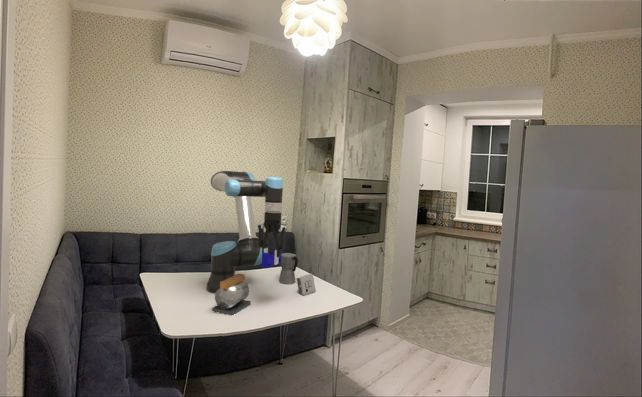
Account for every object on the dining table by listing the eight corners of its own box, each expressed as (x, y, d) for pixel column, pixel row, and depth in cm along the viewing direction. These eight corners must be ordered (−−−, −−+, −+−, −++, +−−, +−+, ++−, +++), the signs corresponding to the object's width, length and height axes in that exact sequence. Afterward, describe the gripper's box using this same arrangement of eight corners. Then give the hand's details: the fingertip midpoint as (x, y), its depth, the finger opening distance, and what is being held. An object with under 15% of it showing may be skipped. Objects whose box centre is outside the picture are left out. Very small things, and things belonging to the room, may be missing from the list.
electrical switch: (303, 296, 164) (303, 277, 164) (295, 294, 167) (295, 276, 167) (315, 292, 171) (315, 273, 171) (308, 290, 174) (307, 272, 174)
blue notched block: (272, 261, 157) (273, 248, 156) (281, 262, 155) (281, 249, 155) (258, 266, 146) (259, 252, 145) (267, 267, 144) (268, 253, 144)
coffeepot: (273, 280, 188) (274, 248, 187) (287, 277, 194) (288, 246, 193) (288, 287, 176) (290, 253, 175) (303, 284, 182) (304, 251, 181)
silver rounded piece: (232, 315, 136) (233, 284, 136) (211, 311, 139) (212, 280, 139) (250, 304, 149) (251, 275, 149) (231, 300, 153) (232, 272, 152)
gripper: (251, 210, 148) (249, 262, 150) (288, 214, 143) (285, 267, 144) (259, 209, 156) (257, 259, 157) (294, 212, 150) (292, 263, 152)
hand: (270, 263), depth 151 cm, fingers closed on blue notched block, 5 cm apart
